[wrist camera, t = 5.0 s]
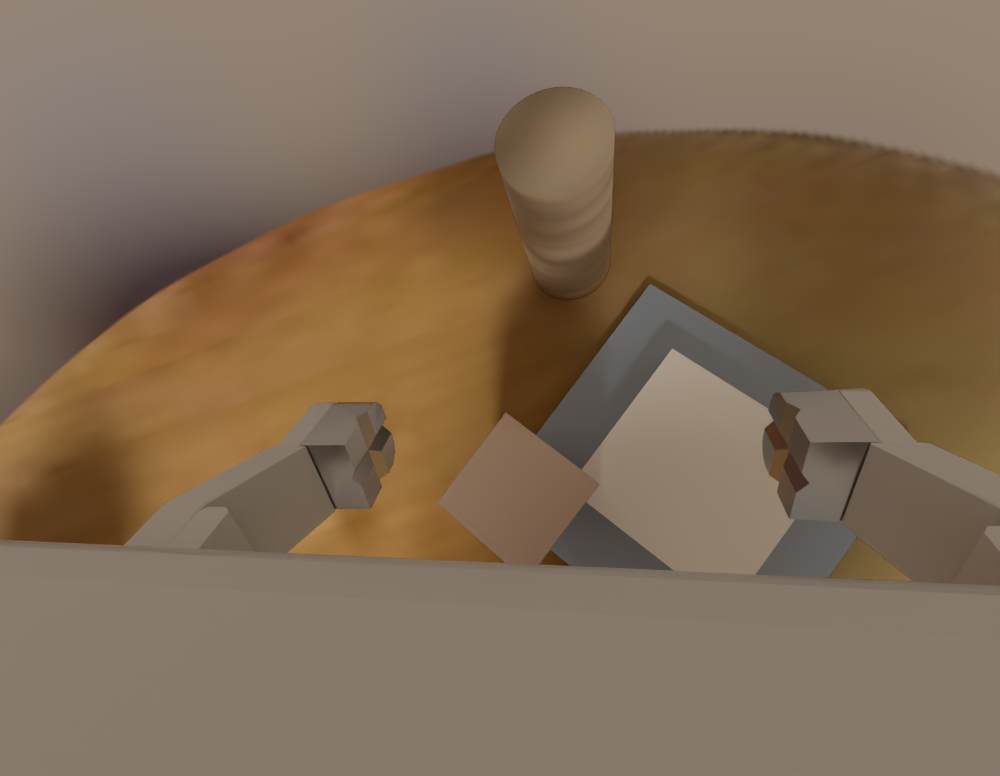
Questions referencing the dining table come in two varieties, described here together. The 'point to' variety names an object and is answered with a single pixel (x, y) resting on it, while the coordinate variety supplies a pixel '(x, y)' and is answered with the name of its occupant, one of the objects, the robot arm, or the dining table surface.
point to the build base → (624, 386)
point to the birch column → (560, 186)
